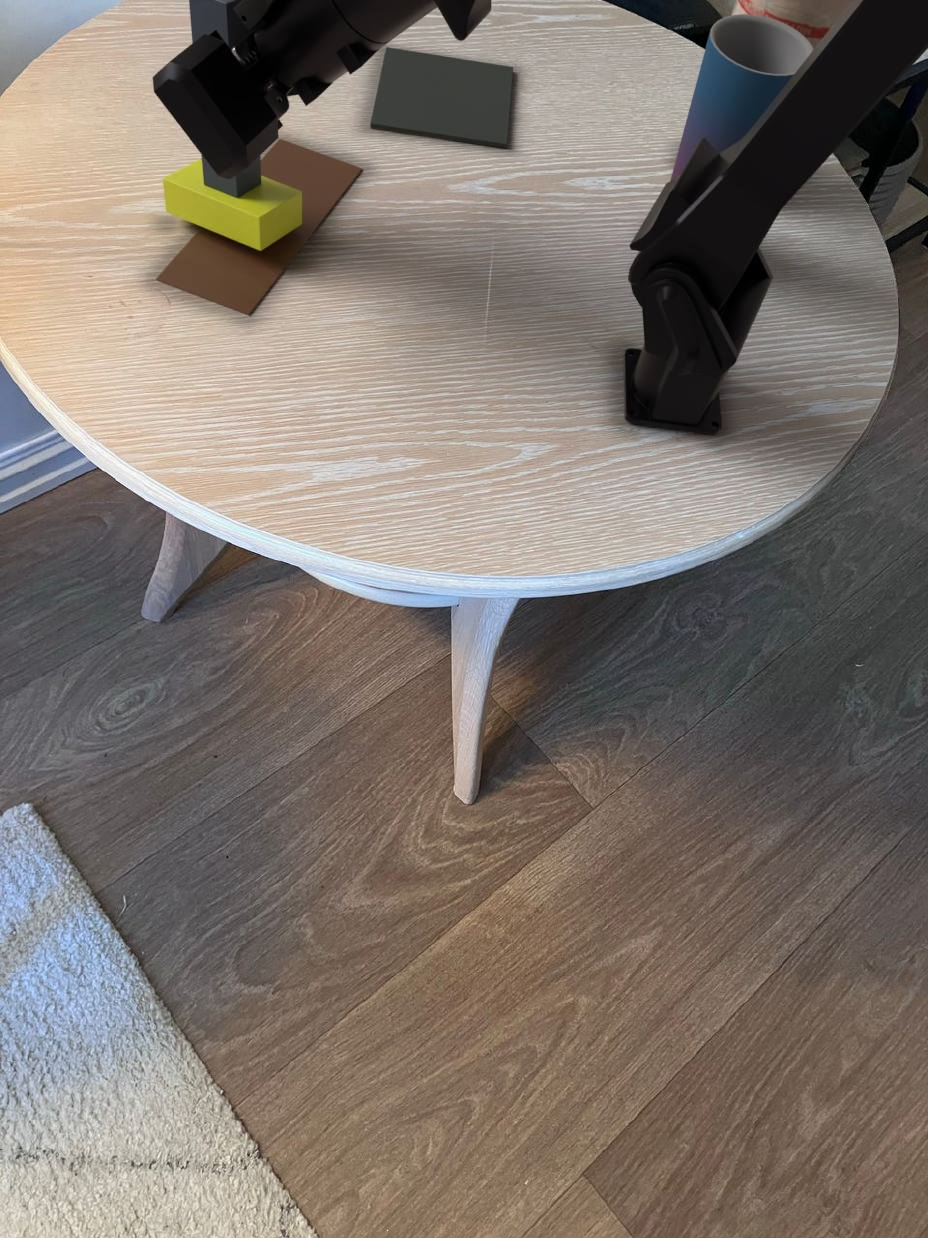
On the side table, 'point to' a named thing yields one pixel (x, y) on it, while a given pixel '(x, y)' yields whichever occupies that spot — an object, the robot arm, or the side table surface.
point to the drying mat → (443, 98)
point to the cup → (739, 80)
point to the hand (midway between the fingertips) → (209, 109)
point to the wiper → (248, 198)
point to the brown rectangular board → (250, 273)
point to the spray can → (797, 14)
